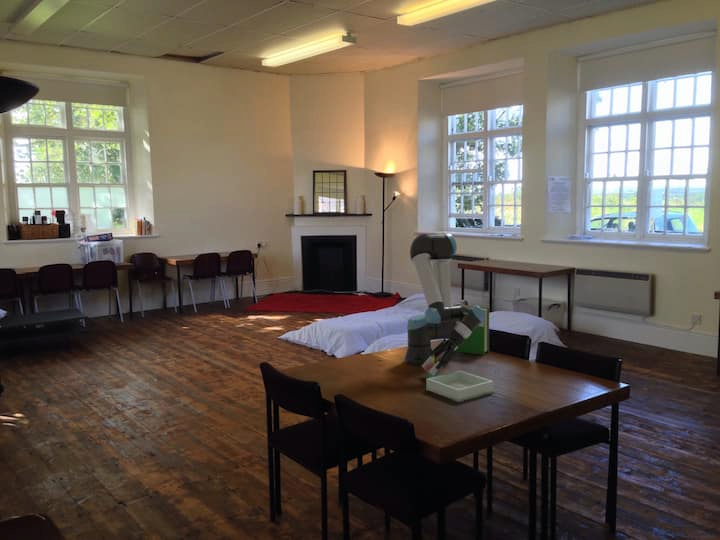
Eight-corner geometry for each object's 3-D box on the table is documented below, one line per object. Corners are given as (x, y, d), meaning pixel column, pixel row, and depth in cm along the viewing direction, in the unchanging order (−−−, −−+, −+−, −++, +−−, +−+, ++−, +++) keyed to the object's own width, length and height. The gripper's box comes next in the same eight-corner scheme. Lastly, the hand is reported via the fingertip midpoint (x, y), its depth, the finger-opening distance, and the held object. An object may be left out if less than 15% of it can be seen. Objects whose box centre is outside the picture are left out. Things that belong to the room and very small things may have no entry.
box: (426, 390, 264) (426, 378, 263) (460, 381, 275) (460, 370, 274) (458, 402, 247) (458, 390, 247) (493, 392, 259) (493, 381, 258)
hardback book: (488, 351, 327) (489, 307, 324) (484, 354, 320) (484, 309, 318) (458, 347, 336) (458, 305, 333) (452, 350, 330) (452, 307, 327)
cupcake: (443, 381, 276) (442, 355, 274) (424, 380, 277) (424, 354, 276) (443, 375, 284) (443, 350, 283) (425, 375, 286) (425, 350, 284)
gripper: (474, 344, 272) (441, 382, 270) (455, 334, 293) (424, 369, 291) (463, 333, 270) (430, 372, 268) (445, 324, 291) (414, 359, 289)
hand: (427, 370), depth 279 cm, fingers closed on cupcake, 9 cm apart
